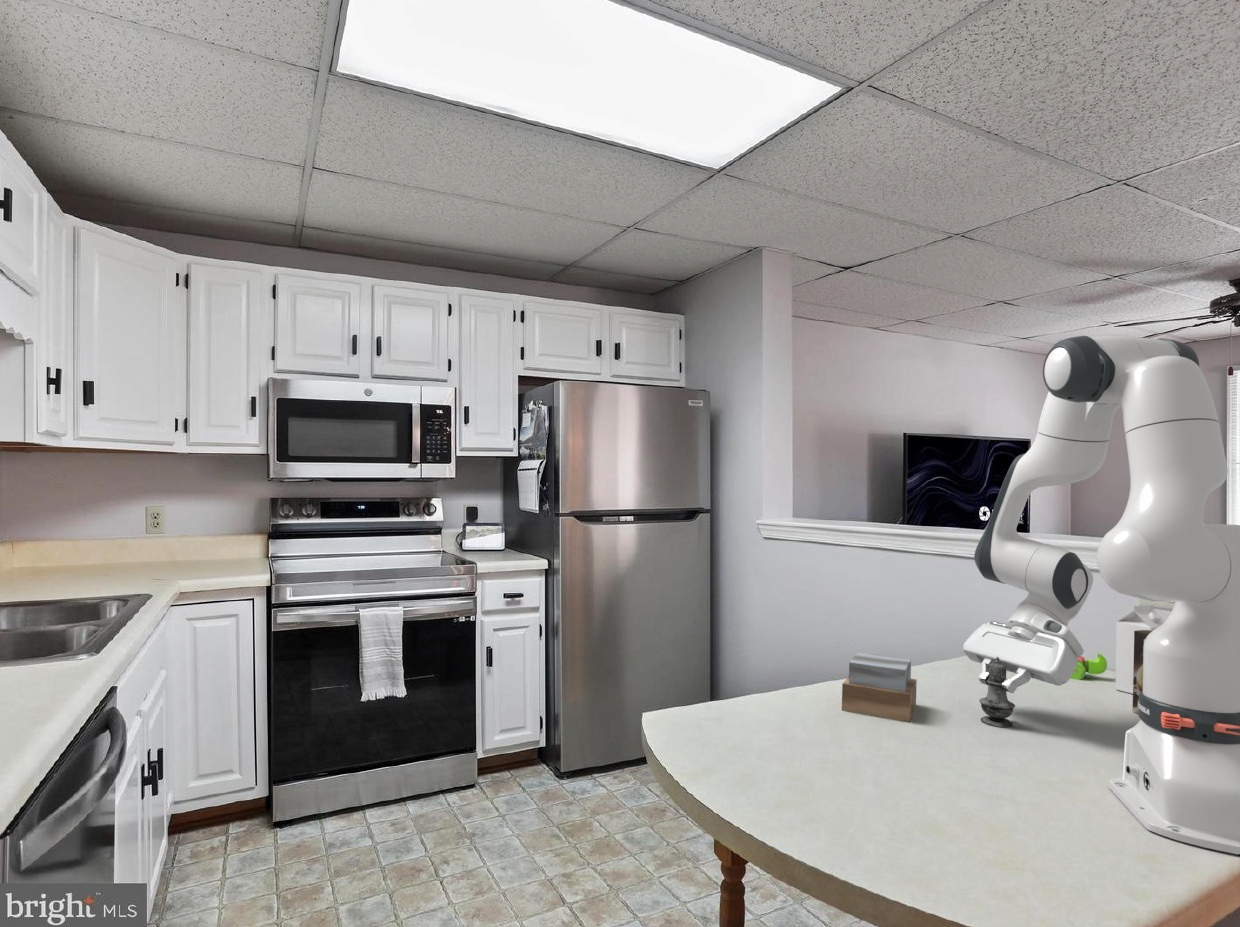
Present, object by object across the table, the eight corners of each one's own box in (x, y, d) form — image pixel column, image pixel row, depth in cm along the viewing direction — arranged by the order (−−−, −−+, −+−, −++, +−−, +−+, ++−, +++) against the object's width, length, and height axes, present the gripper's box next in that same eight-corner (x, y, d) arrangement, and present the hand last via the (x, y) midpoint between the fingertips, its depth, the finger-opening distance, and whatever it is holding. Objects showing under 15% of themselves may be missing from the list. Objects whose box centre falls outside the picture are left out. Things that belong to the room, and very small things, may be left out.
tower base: (909, 722, 131) (910, 672, 131) (841, 710, 137) (842, 662, 137) (915, 704, 142) (917, 658, 142) (853, 694, 147) (854, 650, 147)
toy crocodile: (1007, 668, 174) (1008, 643, 174) (1012, 663, 179) (1012, 639, 179) (1105, 684, 162) (1106, 657, 162) (1107, 678, 167) (1107, 652, 168)
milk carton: (1114, 690, 157) (1116, 603, 158) (1134, 687, 160) (1135, 601, 161) (1150, 699, 151) (1151, 608, 151) (1170, 696, 154) (1171, 607, 154)
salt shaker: (1011, 729, 128) (1012, 662, 129) (975, 722, 132) (976, 656, 132) (1017, 721, 133) (1018, 656, 133) (982, 714, 136) (983, 651, 137)
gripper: (978, 609, 145) (941, 661, 141) (1076, 629, 126) (1036, 690, 122) (994, 630, 147) (957, 682, 143) (1093, 653, 128) (1054, 714, 124)
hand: (994, 686), depth 132 cm, fingers closed on salt shaker, 4 cm apart
